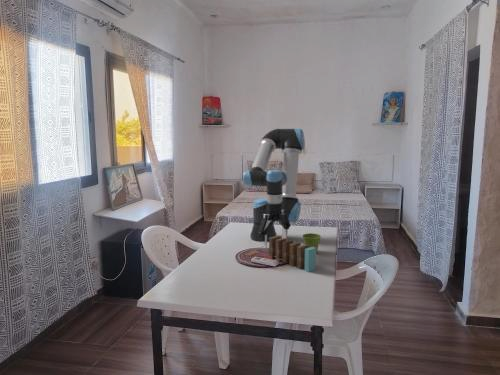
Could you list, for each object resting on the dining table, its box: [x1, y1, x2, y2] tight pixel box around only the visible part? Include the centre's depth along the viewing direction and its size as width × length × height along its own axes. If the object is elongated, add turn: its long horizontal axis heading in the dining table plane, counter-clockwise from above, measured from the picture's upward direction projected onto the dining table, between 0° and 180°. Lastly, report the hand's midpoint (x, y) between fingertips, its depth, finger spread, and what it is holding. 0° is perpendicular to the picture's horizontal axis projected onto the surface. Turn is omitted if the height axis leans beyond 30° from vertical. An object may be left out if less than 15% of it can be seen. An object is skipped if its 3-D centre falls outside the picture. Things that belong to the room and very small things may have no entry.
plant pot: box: [301, 233, 322, 254], centre depth 191 cm, size 9×9×9 cm
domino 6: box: [304, 247, 317, 273], centre depth 167 cm, size 2×5×10 cm, turn 130°
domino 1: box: [268, 235, 281, 257], centre depth 184 cm, size 2×5×10 cm, turn 131°
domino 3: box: [281, 239, 294, 264], centre depth 177 cm, size 2×5×10 cm, turn 131°
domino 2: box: [275, 237, 286, 260], centre depth 181 cm, size 2×5×10 cm, turn 130°
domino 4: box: [289, 241, 302, 267], centre depth 174 cm, size 2×5×10 cm, turn 131°
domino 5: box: [296, 243, 308, 270], centre depth 170 cm, size 2×5×10 cm, turn 130°
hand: (274, 244), depth 185 cm, fingers open, 13 cm apart
